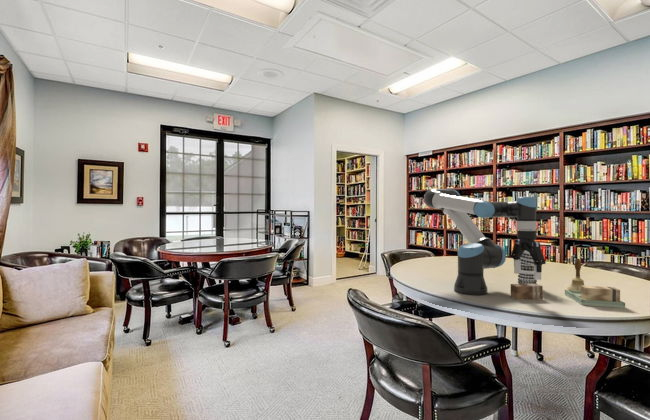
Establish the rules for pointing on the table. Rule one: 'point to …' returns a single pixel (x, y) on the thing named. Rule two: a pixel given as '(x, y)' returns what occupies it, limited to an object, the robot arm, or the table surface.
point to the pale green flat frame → (577, 297)
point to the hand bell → (577, 278)
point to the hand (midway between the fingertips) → (527, 276)
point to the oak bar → (600, 293)
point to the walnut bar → (526, 291)
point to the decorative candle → (526, 269)
